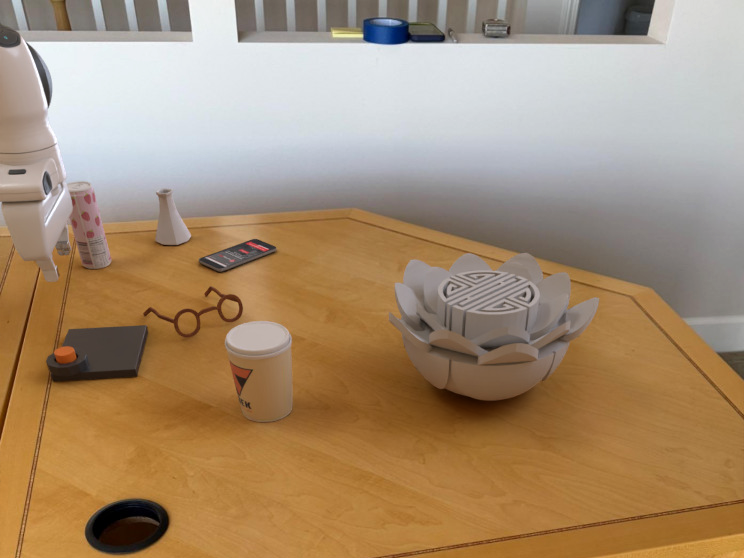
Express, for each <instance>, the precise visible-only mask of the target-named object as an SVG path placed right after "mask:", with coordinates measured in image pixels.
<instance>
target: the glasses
mask: <svg viewBox="0 0 744 558" xmlns="http://www.w3.org/2000/svg"><path fill="white" fill-rule="evenodd" d="M211 292H214V293H215V294H216V295H217V296H219V299H218V302H217V304H216V306H214V305H213V306H209V307H205V308H203V309H200V311H197V310H195V309H192V308H183V309H181V310H179V311H177V312H176V314H175V315H174V317H173V318H171V317H168V316H166V315H163V314H160V313H159V312H158V311H157V310H156V309H155V308H153V307H151V306H150V307H148V308H147V309H146V310H145V311H144V312H143V313H142V314H143V317H147V316H148V315H149V314H151V312H152V313H153V314H154V315H155V316H156V317H157V318H158V319H160V320H162V321H166V322H168V323H170V324H173V327H174V330H175V332H176V333H177V334H178V335H179V336H180V337H182V338H185V339H187V338H193V337H194V336H196V335H197V334H198V333H199V332H200V330H201V316H202V315H204V314H207V313H210V312H212V311H217V313H218V315H219V317H220V318H221V320H222V321H223V322H226V323H235V322H237V321H238V320H239V319H240V318H241V317H242V315H243V312H244V307H243V302H242V300H241V298H240V297H239V296H237V295H236V294H233V293H229V294H224V293H221V292H220V291H219V290H218V289H217V288H216V287H214V286H209V287H208V288H207V289H206V291H205V292H204V293H203V294H204V297H206V298H207V297H208V296H209V295H210V294H211ZM226 300H229V301H231V302H235V303H237V304H238V313H237V314H236V316H234V317H233V318H227V317H226V316H225V315H224V313H223V311H222V310H223V309H222V305H223V303H224V302H225V301H226ZM186 313H191V314H192V315H194V317H195V320H196V327H195V329H194V330H193V331H191V332H190V333H183V332H182V331H181V329H180V328H179V327H180V326H179V319H180V317H181V316H182V315H183V314H186Z"/></svg>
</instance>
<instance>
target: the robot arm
mask: <svg viewBox="0 0 744 558" xmlns="http://www.w3.org/2000/svg"><path fill="white" fill-rule="evenodd" d="M52 97H53V80H52V76H51V72H50V70H49V67H48V65H47V64H46V62H45V61H44V59H43V58H42V56H41V55H40V54H39V53H38V51H37V50H36V49H35V48H34V47H33V46H32V45H30V43H28V42H27V41H26V40H25V39H24V38H23V36H22V34H21V33H20V32H19V31H17V30H15V29H14V28H12V27H11V26H7V25H5V24H2V23H1V22H0V202H1V208H0V209H1V213H2V216H3V220H4V222H5V225H6V227H7V231H8V233H9V235H10V238H11V240H12V244H13V245H14V247H15V251H16V253H17V254H18V255H19V257H20V258H21V259H22V260H23V261H24V262H35V264H37V267H39V269H40V270H41V272H42V275H43V278H44V280H45V282H47V283H57V281H59V278H60V276H61V273H60V271H59V268H58V265H55V262H54V259H53V257H54V255H53V252H54V250H55V249H56V252H57V255H58V256H69V255H70V253H71V252H72V246H71V242H70V235H69V234H70V233H69V224H68V221H69V220H70V218H69V217H70V215H71V213H72V211H73V206H72V200H71V196H70V193H69V190H68V187H67V181H66V179H67V178H68V173H67V170H66V167H65V164H64V163H65V162H64V160H63V155H62V152H61V149H60V145H59V141H58V137H57V135H56V133H55V131H54V130H53V128H52V126H51V123H50V119H49V108H50V106H51V102H52V99H53V98H52Z"/></svg>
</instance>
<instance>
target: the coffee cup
mask: <svg viewBox="0 0 744 558" xmlns="http://www.w3.org/2000/svg"><path fill="white" fill-rule="evenodd" d="M292 345H293V338H292V335H291V332H289V330H288V329H287V327H285V326H284V325H282V324H280V323H277V322H274V321H268V320H255V321H249V322H244V323H240V324H238V325H236V326H234V327H232V328H231V329H230V330H229V331H228V332H227V333H226V336H225V339H224V348H225V350H226V353H227V356H228V357H227V358H228V362H229V366H230V371H231V375H232V377H233V378H232V379H233V382H234V387H235V390H236V396H237V399H238V403H239V407H240V410H241V413H242V415H243V416H244V418H246V419H248V420H250V421H252V422H256V423H272V422H276V421H279V420H282V419H284V418H286V417H287V416H288V415H290V414H291V412H292V410H293V408H294V394H293V393H294V391H293V357H292Z"/></svg>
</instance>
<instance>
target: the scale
mask: <svg viewBox="0 0 744 558" xmlns="http://www.w3.org/2000/svg"><path fill="white" fill-rule="evenodd" d="M148 335H149V329H148V325H147V324H141V325H121V326H100V327H81V328H68V330H67V332H66V336H65V338H64V340H63V342H62V345H61V347H65V346H69V347H72V348H74V350H75V354H76V357H77V359H76V360H75V361H73V362H70V363H65V364H60V363H58V362H57V360H56V357H55V354H54V352H52V353H51V354H49V355H48V356H47V358H46V360H45V363H46V366H47V369H48V371H49V372H50V377H51V381H52V382H53V383H54V382H56V383H57V382H71V381H85V380H86V381H88V380H105V379H123V378H125V379H126V378H137V377H138V375H139V371H140V367H141V363H142V359H143V355H144V351H145V347H146V343H147V338H148Z"/></svg>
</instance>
